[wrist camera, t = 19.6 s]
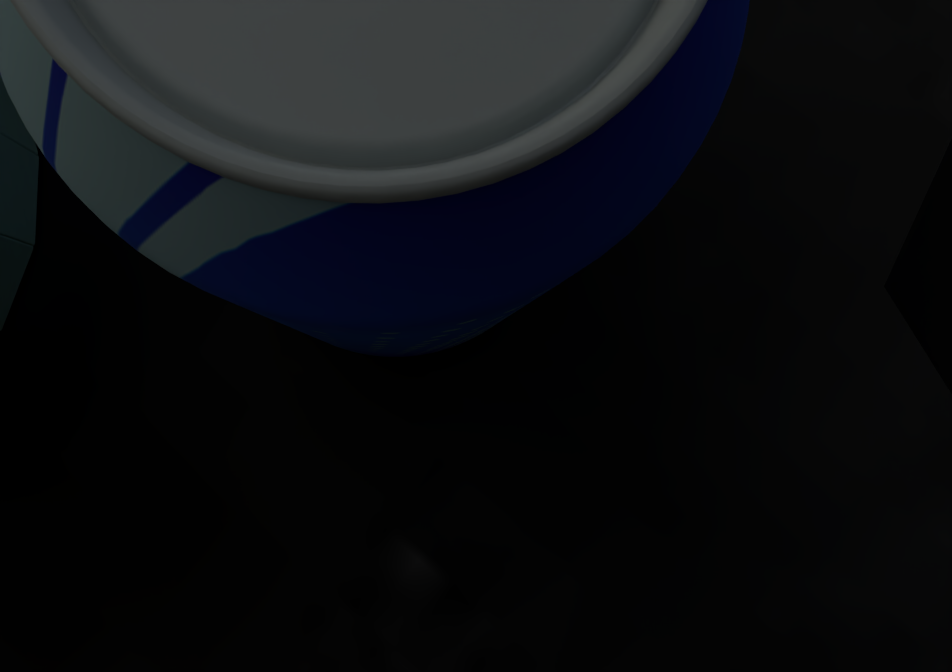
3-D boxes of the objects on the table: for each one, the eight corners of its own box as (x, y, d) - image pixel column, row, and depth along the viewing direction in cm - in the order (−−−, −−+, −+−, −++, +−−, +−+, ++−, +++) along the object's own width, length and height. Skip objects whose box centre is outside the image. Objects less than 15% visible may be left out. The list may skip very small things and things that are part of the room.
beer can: (360, 422, 23) (242, 526, 7) (169, 161, 23) (-399, -349, 7) (616, 235, 24) (1048, -67, 8) (431, -19, 23) (472, -858, 8)
